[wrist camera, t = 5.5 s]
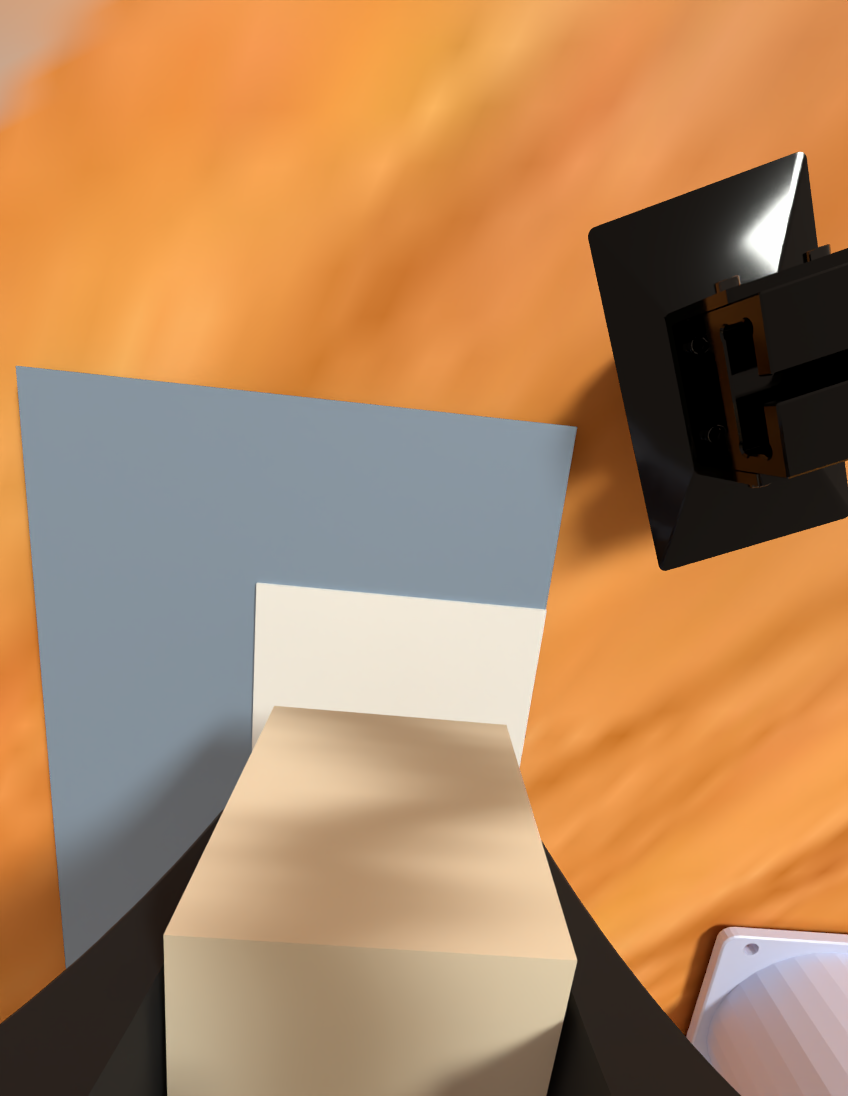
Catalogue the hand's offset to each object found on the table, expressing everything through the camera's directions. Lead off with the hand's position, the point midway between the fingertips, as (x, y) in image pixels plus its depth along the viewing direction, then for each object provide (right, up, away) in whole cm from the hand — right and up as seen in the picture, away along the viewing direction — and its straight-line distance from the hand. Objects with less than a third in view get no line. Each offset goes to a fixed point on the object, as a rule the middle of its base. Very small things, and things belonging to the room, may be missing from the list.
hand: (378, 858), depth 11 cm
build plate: (+9, +11, +4) cm, 15 cm away
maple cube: (0, 0, +1) cm, 1 cm away
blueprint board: (-4, -4, +7) cm, 9 cm away
